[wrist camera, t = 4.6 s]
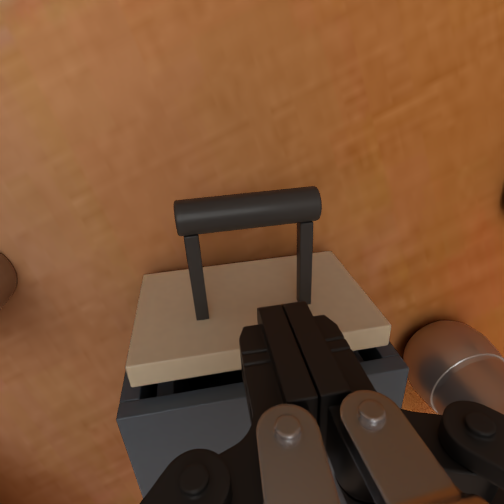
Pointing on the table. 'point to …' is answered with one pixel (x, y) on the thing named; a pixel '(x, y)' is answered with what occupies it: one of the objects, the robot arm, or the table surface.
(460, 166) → the table surface
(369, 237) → the table surface
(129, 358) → the drawer
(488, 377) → the metallic bottle
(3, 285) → the steel cylinder
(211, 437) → the cabinet
